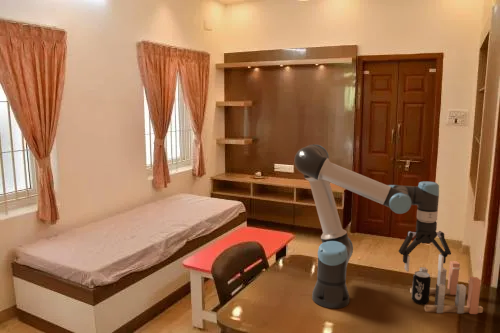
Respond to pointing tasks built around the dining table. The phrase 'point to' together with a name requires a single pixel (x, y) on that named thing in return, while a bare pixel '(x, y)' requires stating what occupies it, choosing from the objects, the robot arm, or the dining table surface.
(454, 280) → the terracotta aperture
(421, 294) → the beverage can
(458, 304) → the steel collars
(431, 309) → the oak channel
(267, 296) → the dining table surface
